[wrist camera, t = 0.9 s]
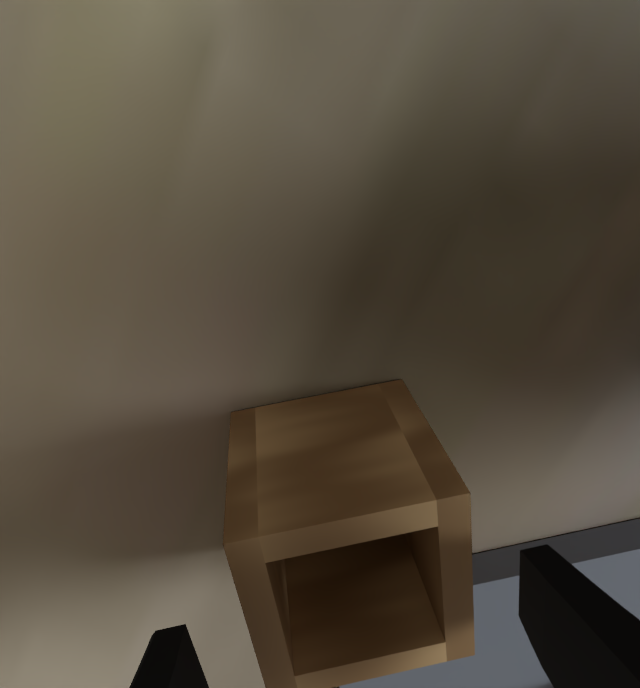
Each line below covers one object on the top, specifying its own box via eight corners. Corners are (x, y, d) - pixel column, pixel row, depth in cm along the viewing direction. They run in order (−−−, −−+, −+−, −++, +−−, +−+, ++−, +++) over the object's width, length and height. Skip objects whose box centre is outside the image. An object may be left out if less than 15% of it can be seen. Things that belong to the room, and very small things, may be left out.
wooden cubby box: (401, 379, 15) (470, 492, 10) (413, 511, 17) (474, 654, 12) (230, 412, 14) (223, 544, 10) (263, 542, 17) (269, 701, 12)
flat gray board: (699, 505, 18) (727, 529, 17) (657, 707, 23) (677, 735, 22) (320, 587, 18) (324, 618, 17) (359, 778, 23) (364, 811, 21)
